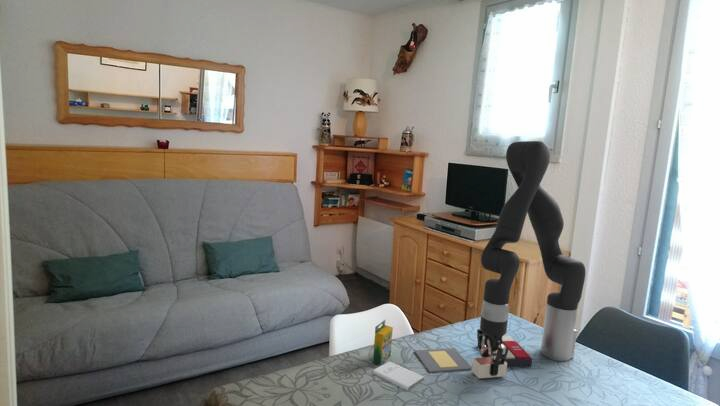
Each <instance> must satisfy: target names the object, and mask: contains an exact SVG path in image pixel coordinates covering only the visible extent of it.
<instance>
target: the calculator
mask: <svg viewBox="0 0 720 406" xmlns="http://www.w3.org/2000/svg"><path fill="white" fill-rule="evenodd" d="M502 341H503V344H502V345H503V346H504V347H507V348H508V353H507V356H506V359H505V362H506V363H507V368H529V367H530V368H531V367H532V366H533V365H532V364H533V358H532V356H531V355H530V354H529V353H528V352H527V351H526V350H525V349H524V348H523V347H522V346H521V345H520V344H519V343H518V342H517V341H516V340H515V339H514V338H513V337H512V336H511V335H503V336H502ZM481 343H482V341H481ZM492 352H497V351H492ZM490 357H491V356H490Z"/></svg>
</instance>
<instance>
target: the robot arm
mask: <svg viewBox="0 0 720 406" xmlns="http://www.w3.org/2000/svg"><path fill="white" fill-rule="evenodd" d="M505 158H506V159H505V160H506V164H507V167H508V169H509V171H510V173H511V176H512V178H513V179H514V181H515V184H516V186H517V188H516V190H515V191H514V192H513V194H512V195H511V196H510V197H509V199H508V200H507V201H506V202H505V203H504V205H503V207H502V209H501V211H500V213H499V216H498V219H497V224H496V226H495V230H494V232H493V234H492V236H491V237H490V239H489V241H488V242H487V244H486V245H485V247H484V249H483V251H482V253H481V257H480V263H481V265H482V268H483V269H484V270H487V271H489V272H493V273H496V274H499V275H500V277H499V278H490V279H488V280H485V283H484V290H483V301H482V304H481V310H480V311H481V312H480V321H479V323H480V324H479V328H477V330H476V331H477V332H476V333H477V334H476V337H477V348H478V350H480V354H481V357H490V356H491V364H490V375H491V376H495V375H497V374H498V367H499V365H503V364H504V362H505V359H506V356H507V353H508V348H507V347H504V346H503V345H502V344H503V341H502V336H506V335H507V331H508V330H507V329H508V320H509V309H510V308H509V307H510V306H509V304H510V303H509V302H510V294H511V293H510V292H511V288H512V286H513V283H514V280H515V277H516V275H517V272H518V271H519V267H520V258H519V255H518V254H517V253H516V252H514V251H513V250H509V249H504V248H503V247H504V246H505V245H506V244H515V243H518V242H519V241H520V239H521V235H522V231H523V228H524V225H525V222H526V221H525V220H526V217H527V215H528V217H529V218H528V219H529V221H530V222H529V223H530V224H531V227H532V229H533V232H534V235H535V237H536V241H537V245H538V248H539V251H540V255H541V261H542V265H543V269H544V272H545V276H546V277H547V279H549V280H550V281H551V282H553V283H556V284H558V285H561V286H560V287H561V288H560V292H559V291H558V292H551V293H549V294H548V295H547V298H546V307H545V315H544V323H543V328H542V329H543V330H542V337H541V338H542V339H541V346H540V353H541V355H543V356H544V357H545V358H548V359H551V360H552V361H558V362H567V361H570V360H571V359H574V356H575V349H576V342H577V333H578V332H577V331H578V330H577V329H576V321H577V314H578V307H579V304H580V301H581V299H582V294H583V289H584V285H585V279H586V267H585V264H584V263H583V262H582V261H580V260H578V259H574V258H572V257H569V256H565V255H564V254H563V252H562V250H561V247H560V243H559V239H560V237H561V235H562V232H563V230H564V226H565V223H564V218H563V215H562V212H561V208H560V205H559V204H558V201H557V200H556V198H554V196H553V195H552V194H551V193H549V191H548V190H547V189H546V188H545V187H544V186H543V185H542V184H541V182H542V180H543V178H544V176H545V174H546V172H547V170H548V167H549V165H550V160H551V149H550V147H549V145H548V144H547V143H546V142H545V141H542V140H541V141H540V140H529V141H526V140H525V141H521V140H520V141H514V142H512V143H510V144H509V146H508V147H507V149H506V153H505ZM481 341H482V343H481ZM492 351H497V352H492ZM494 356H496V358H495V359H494ZM500 359H501V360H500Z"/></svg>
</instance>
